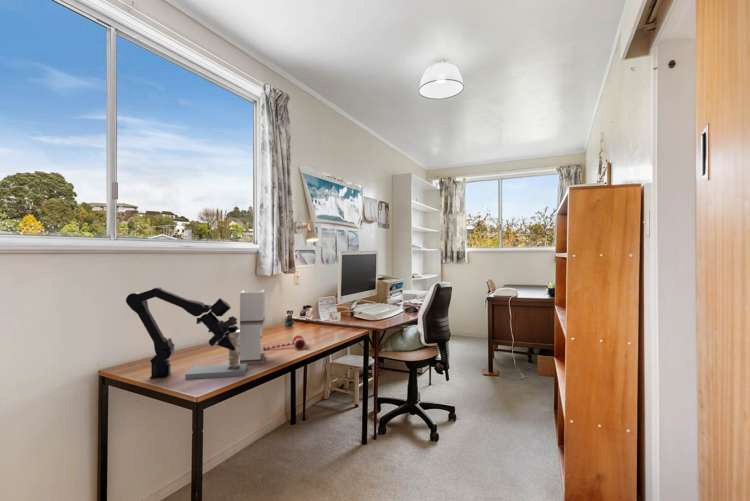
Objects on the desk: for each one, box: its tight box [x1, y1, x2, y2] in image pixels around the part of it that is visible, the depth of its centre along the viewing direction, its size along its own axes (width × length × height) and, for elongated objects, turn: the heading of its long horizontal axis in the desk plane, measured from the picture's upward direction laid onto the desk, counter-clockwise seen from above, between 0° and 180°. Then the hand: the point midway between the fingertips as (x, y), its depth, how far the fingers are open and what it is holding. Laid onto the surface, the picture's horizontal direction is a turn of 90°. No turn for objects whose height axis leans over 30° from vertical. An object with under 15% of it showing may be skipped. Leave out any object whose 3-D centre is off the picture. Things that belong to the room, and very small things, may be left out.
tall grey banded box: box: [239, 289, 266, 365], centre depth 186 cm, size 11×11×35 cm
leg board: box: [184, 363, 248, 380], centre depth 167 cm, size 24×11×2 cm, turn 101°
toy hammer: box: [262, 334, 307, 351], centre depth 210 cm, size 23×12×6 cm, turn 108°
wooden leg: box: [228, 332, 240, 367], centre depth 168 cm, size 4×4×15 cm
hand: (236, 348), depth 168 cm, fingers closed on wooden leg, 4 cm apart
